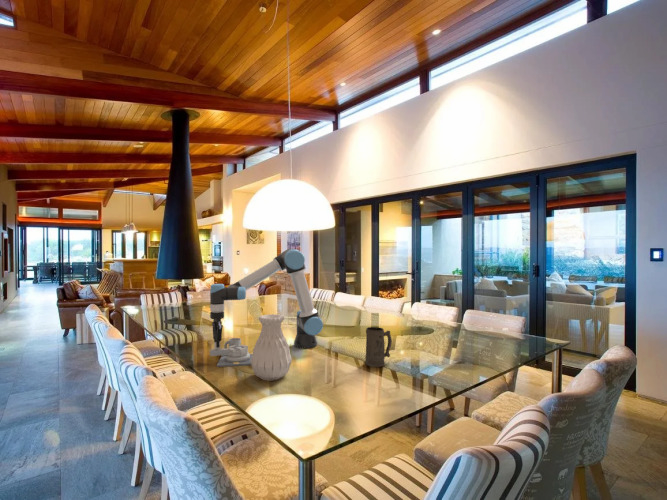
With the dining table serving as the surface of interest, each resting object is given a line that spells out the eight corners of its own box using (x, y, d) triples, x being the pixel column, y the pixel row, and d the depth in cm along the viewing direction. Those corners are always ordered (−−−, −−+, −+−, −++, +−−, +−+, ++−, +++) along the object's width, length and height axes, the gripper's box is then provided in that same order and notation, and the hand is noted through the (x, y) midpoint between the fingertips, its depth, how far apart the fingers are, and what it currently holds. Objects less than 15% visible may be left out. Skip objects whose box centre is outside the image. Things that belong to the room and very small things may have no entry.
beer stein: (370, 368, 190) (373, 330, 191) (360, 362, 200) (362, 326, 200) (394, 366, 197) (396, 329, 198) (382, 360, 207) (385, 325, 207)
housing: (257, 355, 213) (257, 342, 213) (254, 365, 195) (254, 351, 195) (222, 356, 210) (222, 344, 210) (216, 366, 192) (216, 352, 192)
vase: (273, 387, 164) (273, 322, 164) (242, 379, 175) (242, 317, 174) (299, 374, 181) (299, 315, 181) (270, 367, 192) (270, 311, 191)
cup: (239, 356, 212) (239, 341, 212) (222, 356, 212) (222, 340, 212) (242, 352, 219) (242, 337, 219) (226, 352, 219) (226, 337, 219)
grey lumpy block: (248, 350, 209) (248, 344, 209) (246, 356, 198) (246, 349, 198) (212, 352, 206) (212, 345, 206) (208, 358, 195) (208, 351, 195)
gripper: (207, 310, 207) (207, 351, 207) (213, 313, 196) (213, 356, 196) (220, 309, 211) (220, 349, 211) (227, 312, 200) (227, 354, 200)
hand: (217, 352), depth 203 cm, fingers closed
